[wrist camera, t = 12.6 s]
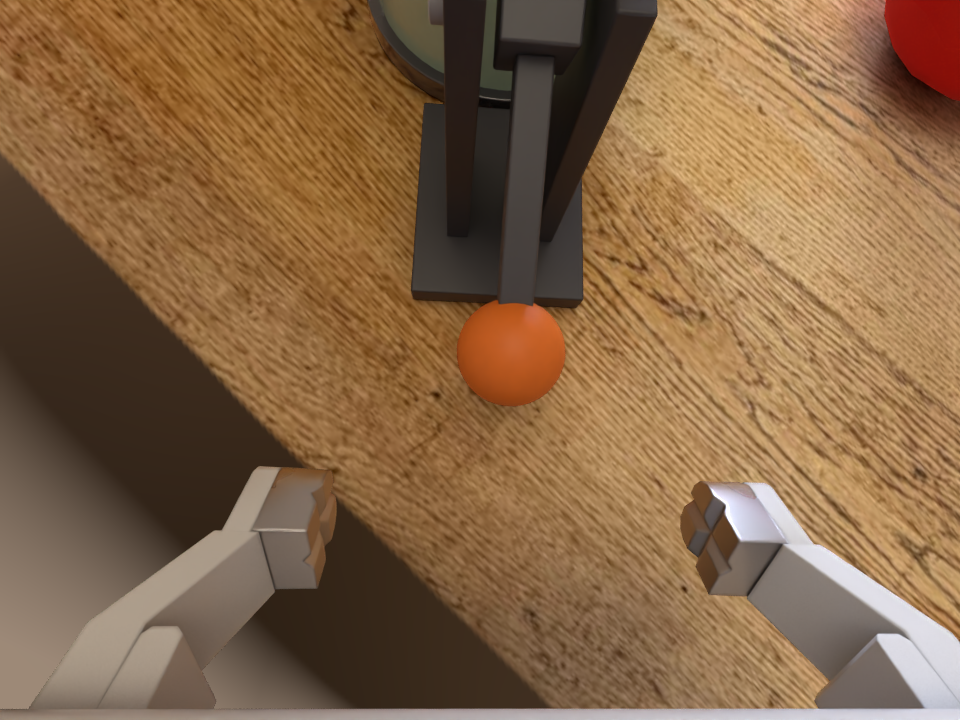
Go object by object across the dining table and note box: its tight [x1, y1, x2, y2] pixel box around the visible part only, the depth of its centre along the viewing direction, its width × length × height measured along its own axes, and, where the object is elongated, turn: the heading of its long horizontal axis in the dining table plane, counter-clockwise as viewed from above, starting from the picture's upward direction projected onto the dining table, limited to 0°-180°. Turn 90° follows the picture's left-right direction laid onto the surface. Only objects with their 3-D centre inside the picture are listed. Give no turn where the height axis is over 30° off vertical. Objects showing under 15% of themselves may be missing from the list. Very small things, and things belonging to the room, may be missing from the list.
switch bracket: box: [411, 0, 657, 308], centre depth 17 cm, size 10×8×13 cm
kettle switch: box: [457, 0, 587, 406], centre depth 14 cm, size 13×4×4 cm, turn 178°
